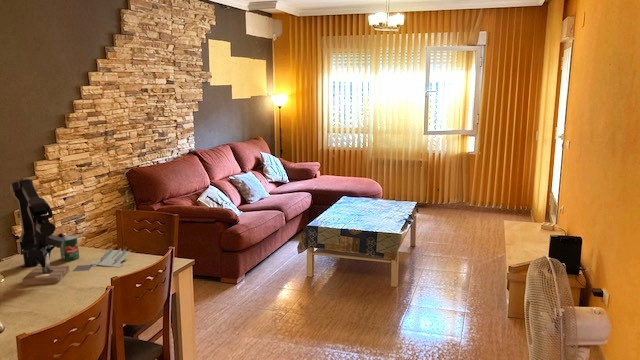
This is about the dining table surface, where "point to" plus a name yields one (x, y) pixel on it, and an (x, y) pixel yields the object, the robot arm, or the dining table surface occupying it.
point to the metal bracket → (111, 258)
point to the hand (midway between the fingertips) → (45, 265)
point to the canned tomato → (70, 248)
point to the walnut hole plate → (46, 275)
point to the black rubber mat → (82, 268)
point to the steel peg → (46, 264)
